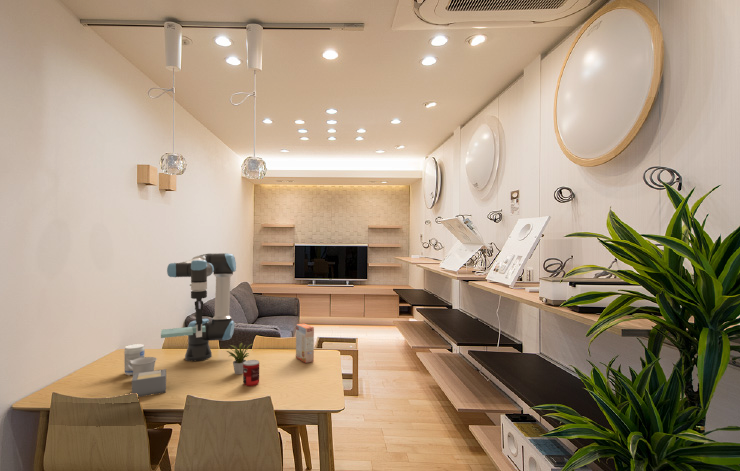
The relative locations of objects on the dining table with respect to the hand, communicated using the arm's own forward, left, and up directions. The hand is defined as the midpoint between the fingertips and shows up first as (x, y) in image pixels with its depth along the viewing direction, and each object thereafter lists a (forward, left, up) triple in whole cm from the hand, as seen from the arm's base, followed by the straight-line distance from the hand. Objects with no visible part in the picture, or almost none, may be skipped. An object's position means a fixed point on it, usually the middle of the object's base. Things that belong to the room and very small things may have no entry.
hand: (198, 335), depth 199 cm
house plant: (-22, -8, -25) cm, 34 cm away
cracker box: (-60, -13, -25) cm, 66 cm away
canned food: (-24, +12, -25) cm, 36 cm away
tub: (+22, 0, -24) cm, 33 cm away
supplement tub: (+31, -33, -25) cm, 52 cm away
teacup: (+27, -20, -25) cm, 42 cm away
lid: (+7, 0, +2) cm, 7 cm away
